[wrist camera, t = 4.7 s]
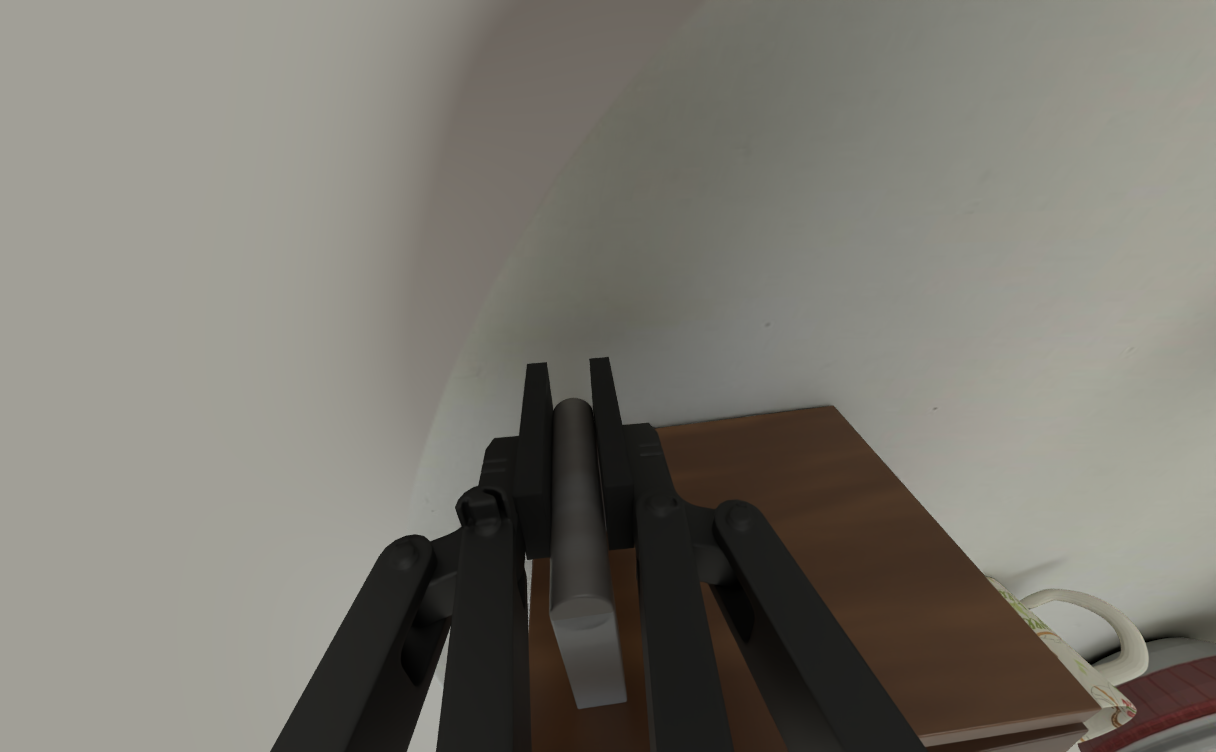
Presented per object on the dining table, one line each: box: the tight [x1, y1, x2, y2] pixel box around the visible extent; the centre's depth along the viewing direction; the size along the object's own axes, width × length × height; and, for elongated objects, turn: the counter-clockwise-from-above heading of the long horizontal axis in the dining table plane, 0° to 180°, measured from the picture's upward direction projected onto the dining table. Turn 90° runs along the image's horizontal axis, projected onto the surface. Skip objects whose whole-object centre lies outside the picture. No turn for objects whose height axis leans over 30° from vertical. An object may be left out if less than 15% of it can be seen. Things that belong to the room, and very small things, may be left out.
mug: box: [986, 577, 1149, 744], centre depth 34 cm, size 8×13×10 cm, turn 125°
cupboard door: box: [528, 398, 1102, 752], centre depth 17 cm, size 7×17×15 cm, turn 95°
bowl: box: [1078, 637, 1216, 752], centre depth 48 cm, size 23×23×10 cm
